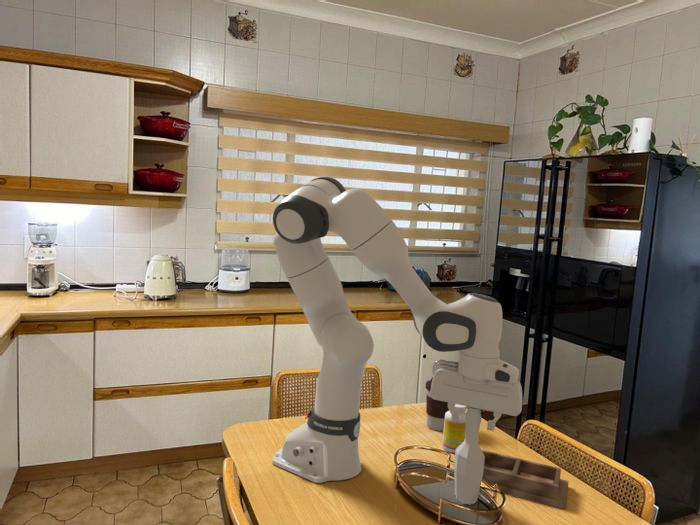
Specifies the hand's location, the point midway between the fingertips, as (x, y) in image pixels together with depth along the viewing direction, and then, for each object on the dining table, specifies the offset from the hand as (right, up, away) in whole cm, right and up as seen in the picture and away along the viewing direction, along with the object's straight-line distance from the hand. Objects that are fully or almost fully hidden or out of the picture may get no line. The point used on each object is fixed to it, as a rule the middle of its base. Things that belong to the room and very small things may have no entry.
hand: (472, 425), depth 125 cm
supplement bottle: (+1, -15, +29) cm, 33 cm away
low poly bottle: (-1, -18, +2) cm, 18 cm away
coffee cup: (-1, -14, +44) cm, 46 cm away
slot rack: (+13, -18, +11) cm, 24 cm away
